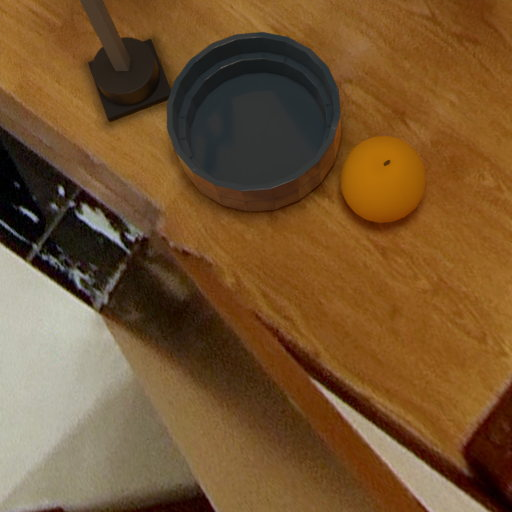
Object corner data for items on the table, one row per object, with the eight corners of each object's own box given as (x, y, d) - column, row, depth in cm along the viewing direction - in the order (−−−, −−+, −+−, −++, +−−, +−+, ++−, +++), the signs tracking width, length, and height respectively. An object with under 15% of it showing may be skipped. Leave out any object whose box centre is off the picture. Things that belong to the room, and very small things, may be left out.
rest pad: (152, 42, 90) (150, 38, 89) (173, 97, 88) (172, 94, 87) (89, 66, 90) (87, 62, 89) (109, 122, 88) (107, 118, 87)
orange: (332, 164, 84) (330, 131, 77) (411, 146, 84) (417, 111, 76) (350, 239, 81) (351, 213, 74) (432, 222, 81) (440, 193, 74)
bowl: (304, 41, 88) (301, 8, 82) (365, 176, 83) (367, 151, 77) (157, 98, 88) (144, 69, 82) (209, 237, 83) (199, 216, 77)
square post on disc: (163, 50, 89) (99, -113, 66) (156, 106, 87) (89, -41, 64) (102, 50, 89) (19, -112, 67) (95, 105, 88) (7, -41, 65)
